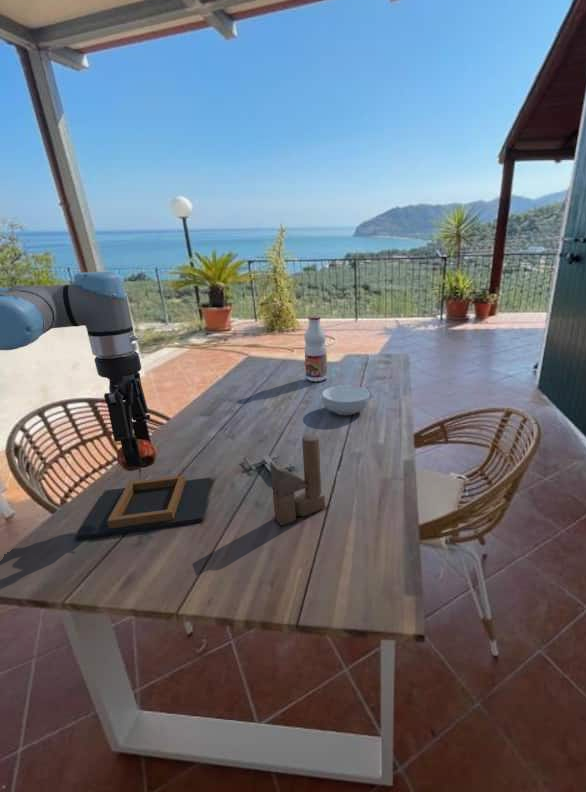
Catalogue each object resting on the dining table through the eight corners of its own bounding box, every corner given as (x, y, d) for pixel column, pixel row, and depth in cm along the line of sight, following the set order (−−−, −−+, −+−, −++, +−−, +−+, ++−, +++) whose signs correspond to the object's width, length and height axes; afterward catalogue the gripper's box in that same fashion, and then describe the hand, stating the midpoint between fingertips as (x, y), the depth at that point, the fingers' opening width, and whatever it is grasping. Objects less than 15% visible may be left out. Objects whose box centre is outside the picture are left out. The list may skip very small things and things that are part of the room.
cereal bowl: (379, 410, 140) (379, 392, 137) (346, 425, 129) (345, 405, 126) (346, 398, 151) (345, 381, 148) (313, 411, 140) (312, 392, 137)
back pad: (76, 540, 79) (73, 528, 78) (106, 493, 93) (103, 483, 92) (202, 521, 84) (200, 510, 83) (211, 480, 99) (209, 470, 98)
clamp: (300, 468, 100) (262, 481, 94) (300, 476, 100) (263, 489, 95) (277, 445, 111) (242, 455, 106) (277, 452, 112) (243, 462, 107)
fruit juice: (330, 380, 171) (328, 317, 161) (310, 384, 167) (307, 319, 157) (322, 374, 178) (320, 313, 169) (303, 377, 175) (299, 315, 165)
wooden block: (274, 517, 85) (267, 444, 79) (317, 500, 91) (314, 431, 85) (281, 527, 82) (275, 452, 76) (325, 508, 88) (322, 437, 82)
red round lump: (163, 479, 85) (160, 439, 90) (152, 466, 79) (149, 424, 84) (126, 489, 83) (124, 447, 88) (112, 476, 77) (111, 433, 82)
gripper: (120, 366, 68) (146, 479, 76) (150, 341, 86) (168, 434, 94) (71, 370, 66) (103, 484, 74) (113, 343, 84) (134, 437, 92)
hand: (139, 456), depth 84 cm, fingers closed on red round lump, 7 cm apart
